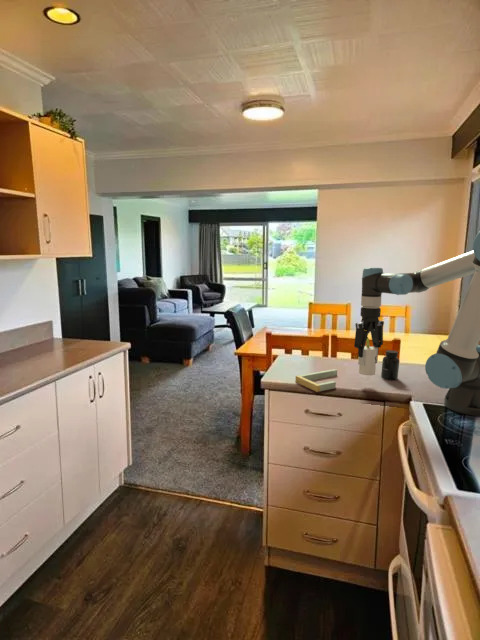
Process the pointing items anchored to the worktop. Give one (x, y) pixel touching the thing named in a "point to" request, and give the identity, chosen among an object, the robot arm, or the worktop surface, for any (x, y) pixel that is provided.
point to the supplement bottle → (390, 365)
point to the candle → (369, 360)
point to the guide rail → (316, 387)
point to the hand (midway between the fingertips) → (367, 363)
